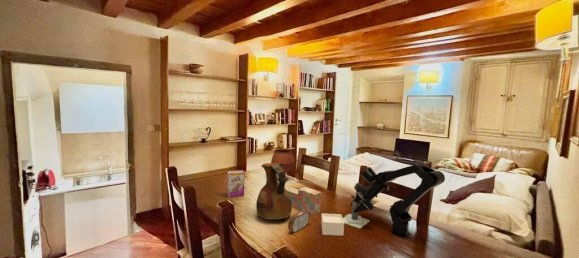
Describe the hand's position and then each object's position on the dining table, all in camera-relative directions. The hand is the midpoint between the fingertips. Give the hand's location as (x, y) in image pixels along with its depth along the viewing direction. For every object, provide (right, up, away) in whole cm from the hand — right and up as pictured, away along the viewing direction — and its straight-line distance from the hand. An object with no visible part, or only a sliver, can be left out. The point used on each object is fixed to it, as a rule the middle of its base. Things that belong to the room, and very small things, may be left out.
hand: (352, 208), depth 138 cm
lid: (+1, -7, 0) cm, 7 cm away
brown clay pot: (-40, +1, +73) cm, 83 cm away
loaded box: (-13, -8, -10) cm, 18 cm away
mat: (+1, -7, +1) cm, 7 cm away
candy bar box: (-70, -2, +35) cm, 78 cm away
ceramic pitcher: (-42, -6, +4) cm, 43 cm away
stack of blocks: (-26, -5, +16) cm, 31 cm away
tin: (-29, -7, -9) cm, 32 cm away
